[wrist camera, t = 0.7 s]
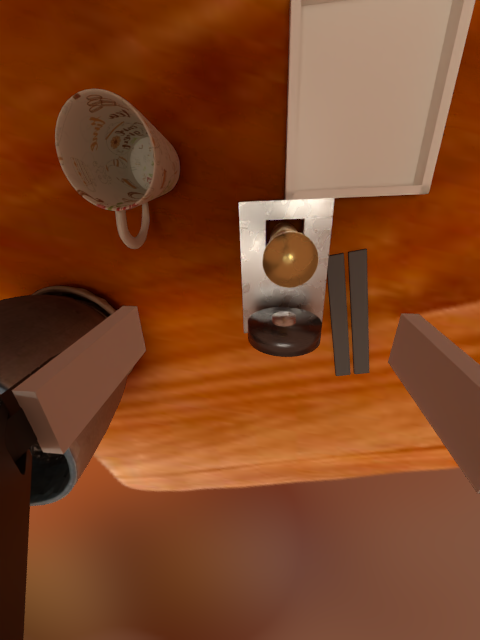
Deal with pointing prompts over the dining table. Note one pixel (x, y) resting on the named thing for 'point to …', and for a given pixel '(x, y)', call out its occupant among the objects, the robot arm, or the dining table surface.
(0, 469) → the robot arm
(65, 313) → the potted plant
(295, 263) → the pin
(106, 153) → the mug
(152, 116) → the dining table surface
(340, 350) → the pair of grey strips
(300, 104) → the tray
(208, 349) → the dining table surface
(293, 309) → the block
